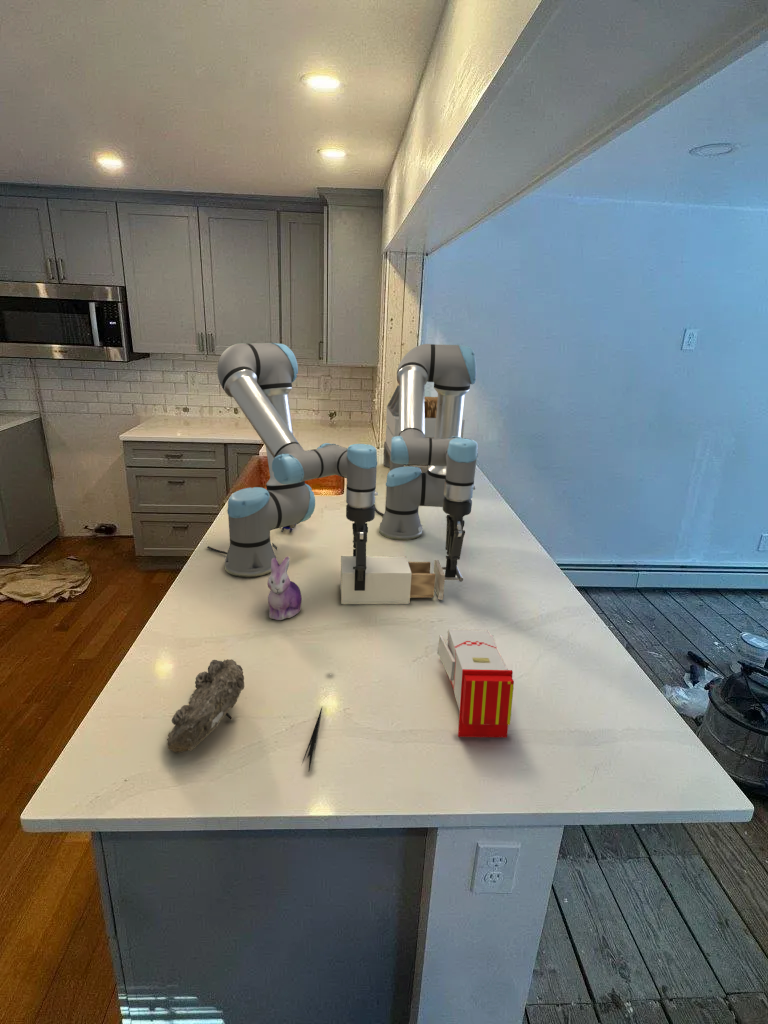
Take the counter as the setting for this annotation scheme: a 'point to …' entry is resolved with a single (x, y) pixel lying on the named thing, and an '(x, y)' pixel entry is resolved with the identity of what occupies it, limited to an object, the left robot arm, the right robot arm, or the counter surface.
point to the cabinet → (377, 580)
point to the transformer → (393, 425)
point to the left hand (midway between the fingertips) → (358, 580)
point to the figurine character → (288, 527)
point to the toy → (478, 682)
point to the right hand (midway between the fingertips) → (450, 578)
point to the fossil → (206, 705)
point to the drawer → (429, 579)
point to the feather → (313, 740)
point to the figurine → (282, 592)
